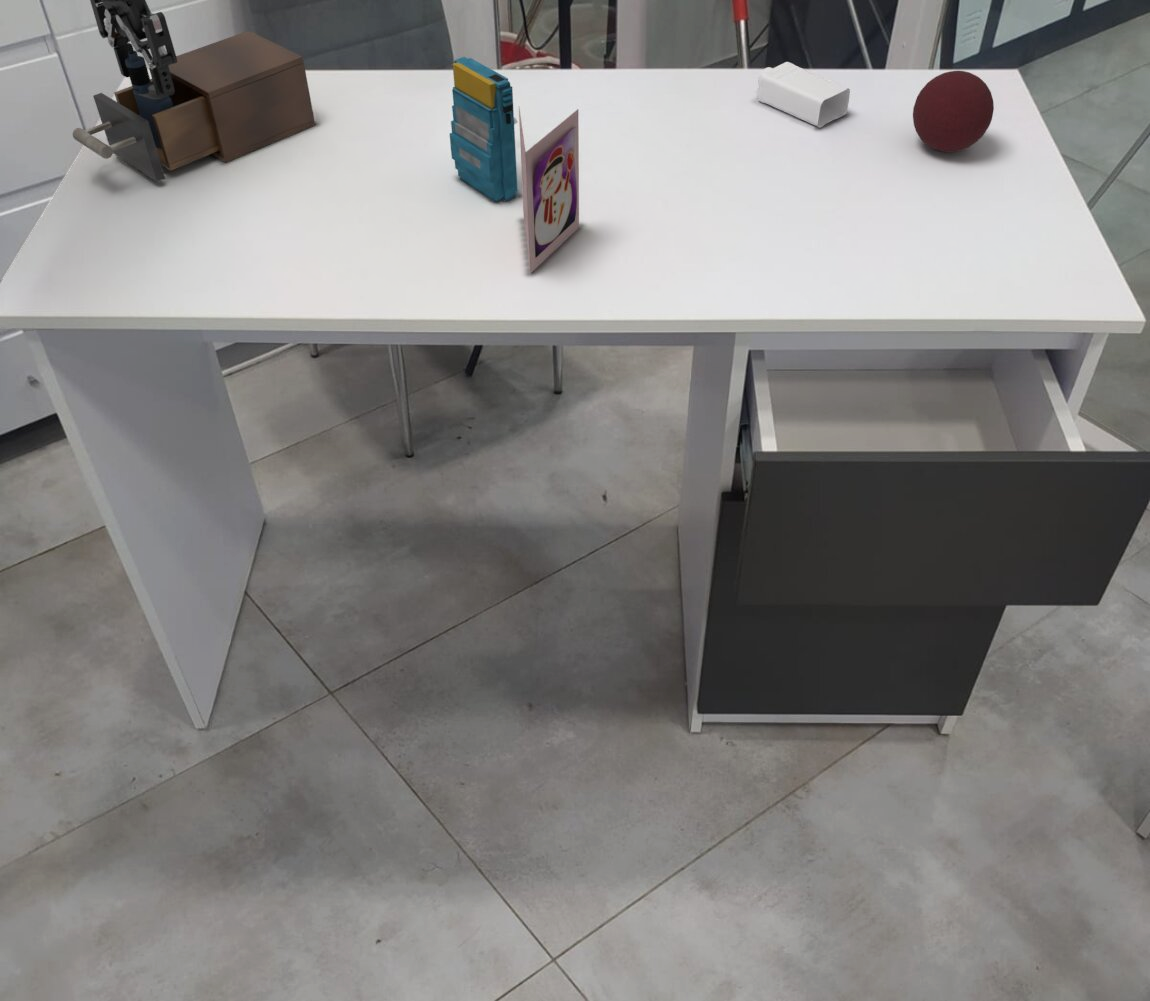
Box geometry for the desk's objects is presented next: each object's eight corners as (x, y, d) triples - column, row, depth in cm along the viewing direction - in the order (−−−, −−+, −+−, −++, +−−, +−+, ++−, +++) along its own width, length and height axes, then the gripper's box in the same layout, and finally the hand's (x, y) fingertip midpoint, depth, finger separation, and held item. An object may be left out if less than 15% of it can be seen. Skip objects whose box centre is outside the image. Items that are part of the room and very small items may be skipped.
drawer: (121, 196, 139) (102, 138, 134) (76, 165, 145) (56, 108, 139) (246, 144, 148) (233, 88, 143) (199, 117, 154) (184, 62, 149)
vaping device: (159, 136, 148) (133, 46, 140) (187, 145, 146) (163, 55, 138) (144, 144, 146) (117, 54, 138) (173, 154, 144) (147, 63, 136)
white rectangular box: (777, 85, 162) (780, 56, 159) (847, 115, 155) (852, 85, 152) (746, 98, 159) (749, 69, 156) (816, 129, 152) (821, 100, 149)
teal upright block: (521, 196, 140) (516, 80, 130) (495, 207, 138) (487, 91, 128) (476, 167, 145) (467, 54, 135) (450, 177, 144) (439, 63, 133)
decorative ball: (994, 143, 149) (1014, 70, 142) (964, 173, 143) (984, 99, 136) (924, 123, 153) (941, 51, 146) (893, 151, 148) (908, 78, 141)
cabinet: (225, 163, 147) (208, 92, 140) (174, 132, 153) (154, 63, 146) (315, 125, 154) (302, 56, 147) (262, 97, 160) (248, 30, 154)
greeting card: (537, 275, 128) (532, 154, 117) (482, 258, 130) (473, 138, 120) (585, 228, 135) (585, 110, 124) (532, 213, 137) (528, 96, 127)
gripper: (49, -58, 131) (93, 77, 142) (112, -27, 124) (152, 112, 135) (107, -74, 134) (145, 59, 146) (171, -45, 127) (205, 92, 139)
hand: (148, 85), depth 141 cm, fingers open, 8 cm apart
